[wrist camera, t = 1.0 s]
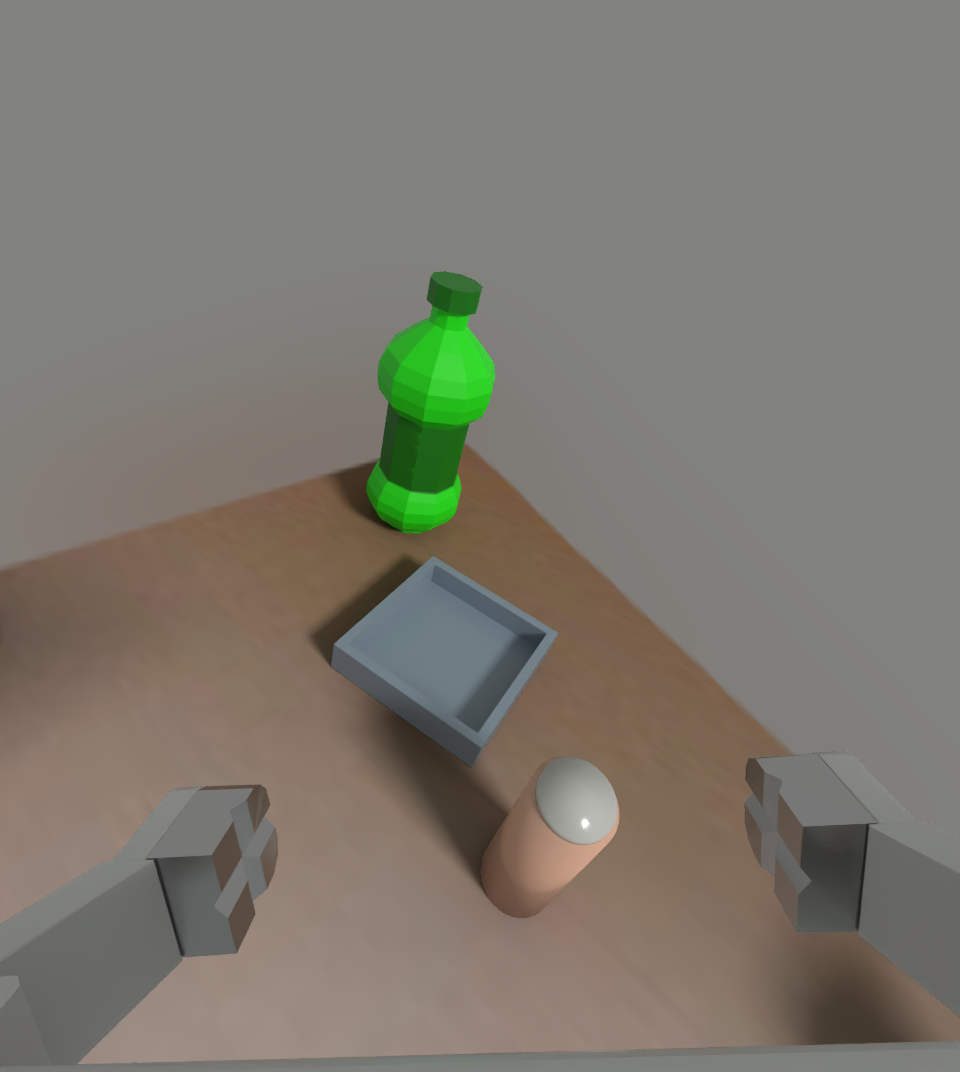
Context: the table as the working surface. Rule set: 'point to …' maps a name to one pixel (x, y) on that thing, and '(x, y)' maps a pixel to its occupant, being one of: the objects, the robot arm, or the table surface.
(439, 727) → the shallow grey tray
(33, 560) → the table surface
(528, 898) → the pink cylindrical can
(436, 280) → the plastic bottle
